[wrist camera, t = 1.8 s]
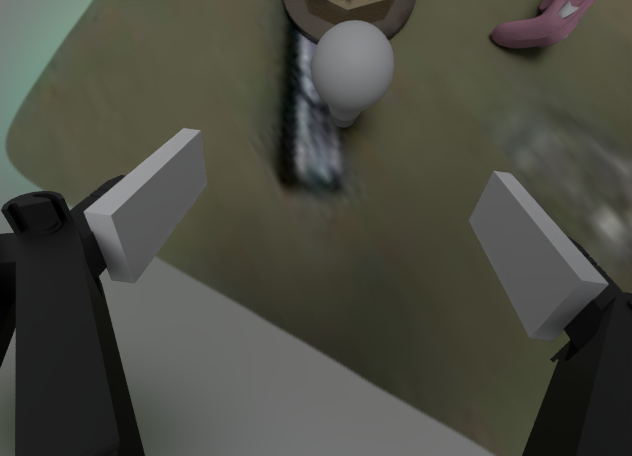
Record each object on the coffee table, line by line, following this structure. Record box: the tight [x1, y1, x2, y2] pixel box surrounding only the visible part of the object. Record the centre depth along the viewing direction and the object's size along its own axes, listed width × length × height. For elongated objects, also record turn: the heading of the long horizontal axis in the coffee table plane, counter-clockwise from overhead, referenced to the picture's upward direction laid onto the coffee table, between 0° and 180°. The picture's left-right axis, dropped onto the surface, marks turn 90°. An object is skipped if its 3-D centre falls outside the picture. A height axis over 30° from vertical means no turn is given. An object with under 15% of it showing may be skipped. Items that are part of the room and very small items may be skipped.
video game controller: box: [492, 0, 595, 48], centre depth 30 cm, size 10×5×7 cm, turn 146°
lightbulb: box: [311, 20, 394, 128], centre depth 26 cm, size 6×6×11 cm
